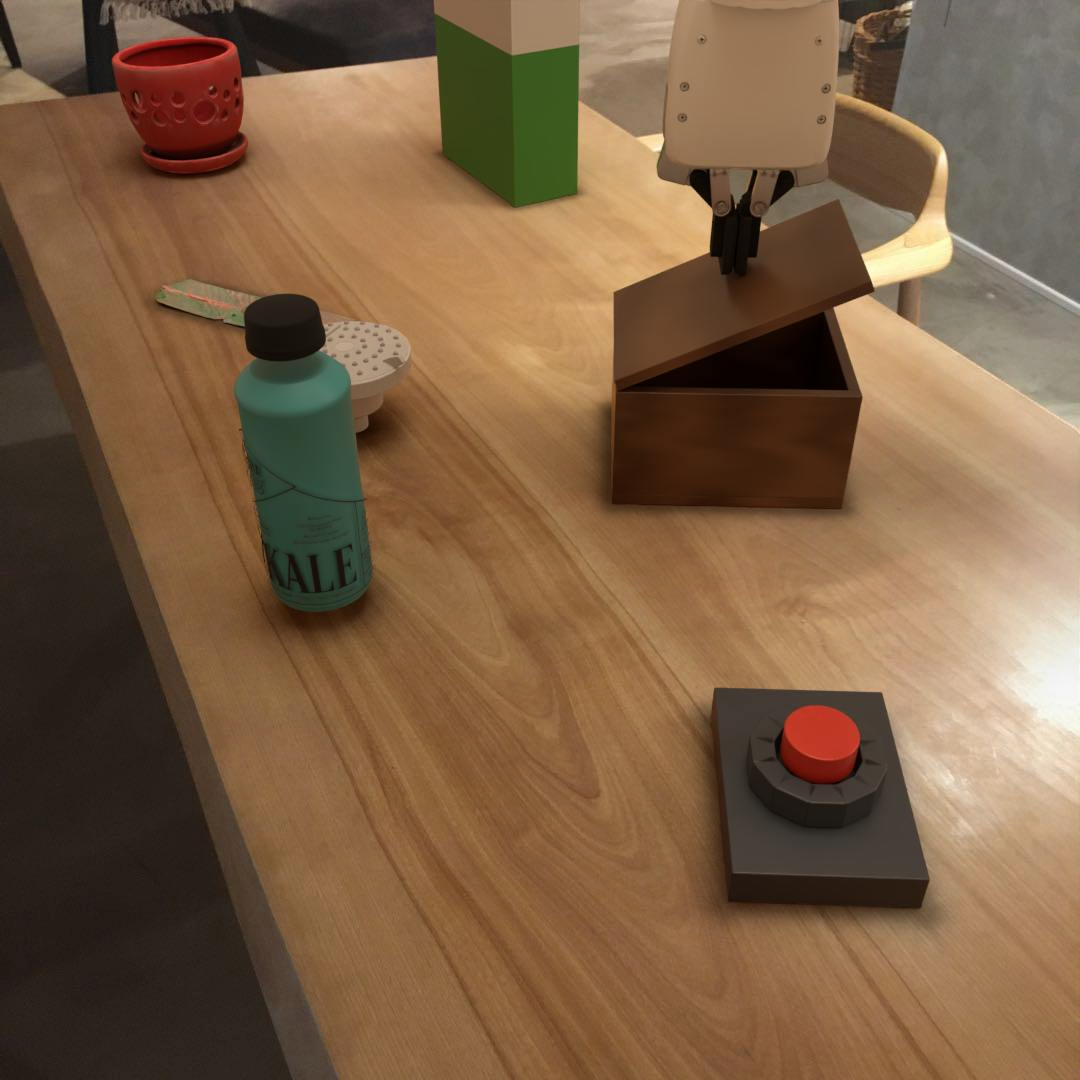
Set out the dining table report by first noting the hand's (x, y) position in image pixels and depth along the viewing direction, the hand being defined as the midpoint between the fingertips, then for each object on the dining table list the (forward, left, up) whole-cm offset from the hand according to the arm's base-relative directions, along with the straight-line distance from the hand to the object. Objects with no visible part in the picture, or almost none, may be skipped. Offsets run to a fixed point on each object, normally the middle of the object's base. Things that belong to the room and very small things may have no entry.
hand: (731, 265), depth 78 cm
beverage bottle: (+31, -4, -14) cm, 35 cm away
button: (+22, +26, -10) cm, 35 cm away
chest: (+1, +2, -14) cm, 14 cm away
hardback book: (-24, -50, -14) cm, 57 cm away
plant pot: (-1, -77, -14) cm, 79 cm away
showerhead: (+18, -19, -14) cm, 30 cm away
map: (+14, -40, -14) cm, 45 cm away
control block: (+22, +26, -14) cm, 37 cm away
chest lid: (+1, +2, -1) cm, 2 cm away
